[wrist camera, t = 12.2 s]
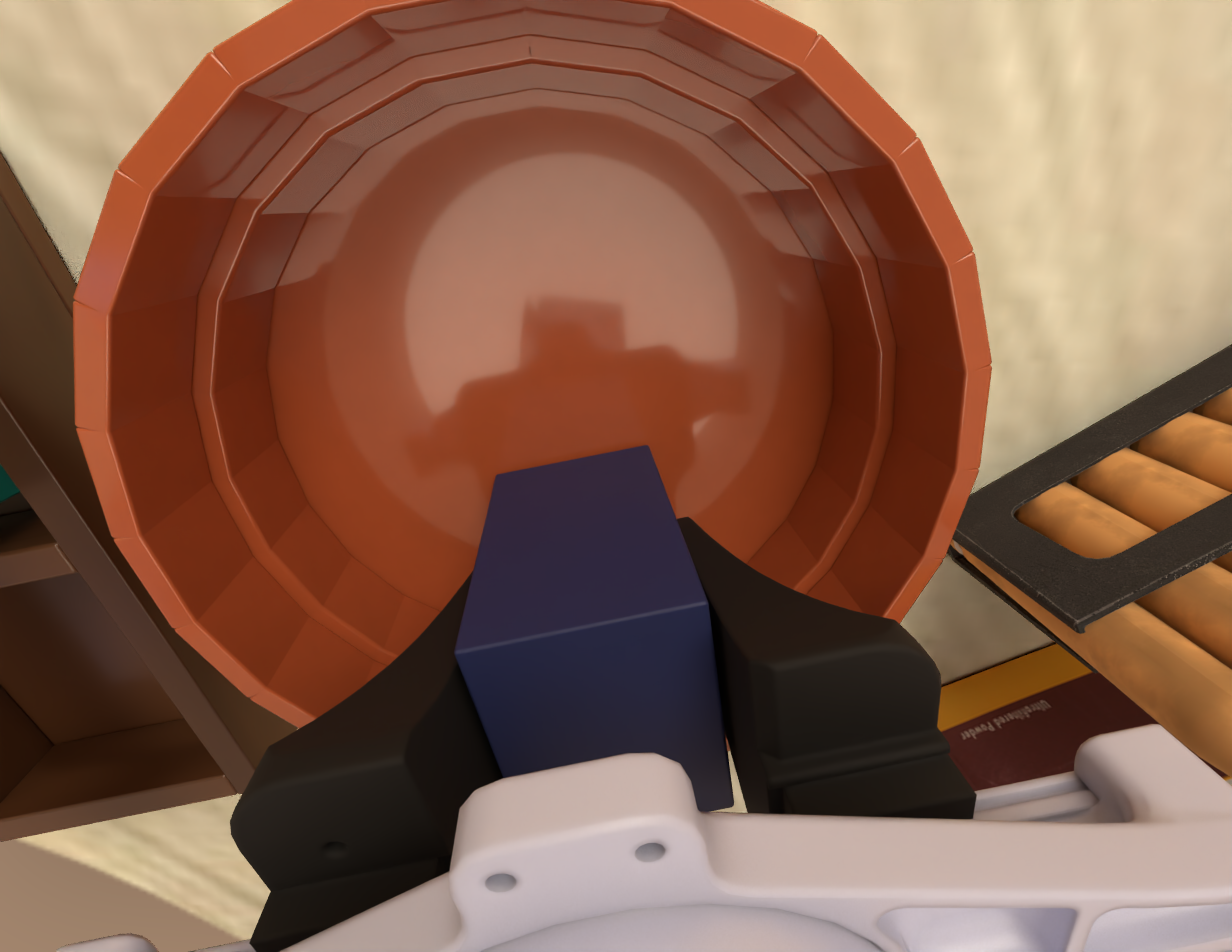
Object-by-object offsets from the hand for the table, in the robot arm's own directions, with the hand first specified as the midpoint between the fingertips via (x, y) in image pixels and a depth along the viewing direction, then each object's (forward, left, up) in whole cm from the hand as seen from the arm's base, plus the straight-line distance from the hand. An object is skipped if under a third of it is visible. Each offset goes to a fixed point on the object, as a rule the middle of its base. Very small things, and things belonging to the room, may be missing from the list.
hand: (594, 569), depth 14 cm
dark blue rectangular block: (0, 0, -1) cm, 1 cm away
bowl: (+3, +2, -2) cm, 4 cm away
